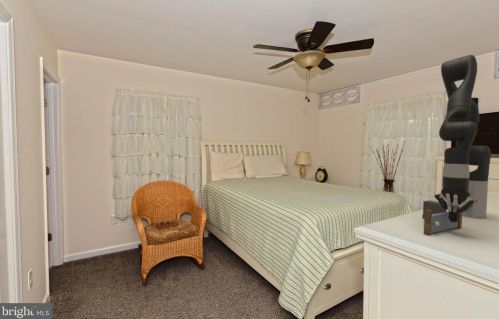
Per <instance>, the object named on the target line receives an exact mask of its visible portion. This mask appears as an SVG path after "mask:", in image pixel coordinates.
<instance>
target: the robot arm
mask: <svg viewBox="0 0 499 319" xmlns="http://www.w3.org/2000/svg"><path fill="white" fill-rule="evenodd" d="M440 73H441V78H442V81H443V85H444V88H445V92H446V95H447V99H448V101H447V104H446V114H445V118H444V119H443V122H442V124H441V126H440V127H439V132H438V135H439V137H440V138H439V139H441V140H442V141H444V142H456V143H455V144H456V146H453V147H447V148H445V150H444V154H443V155H444V156H443V157H444V160H443V166H442V181H441V182H442V183H441V184H442V185H441V186H442V189H441V191H440V192H439V193H438V194H434V198H435V200H436V202H439V203H440V205H441V206H442V208H443V209H446V210H447V212H449V216H448V219H449V220H450V222H454V223H456V222H458V221H459V217H460V212H462V217H466V218H471V219H484V220H485V219H486V218H487V209H488V208H487V207H488V190H489V189H488V188H489V186H488V185H489V174H490V165H491V159H492V157H491V156H492V151H491V149H490V147H489V146H487V145H473V143H474V141H475V138H476V136H477V133H478V125H479V123H480V121H481V118H480V112H479V111H480V110H479V106H478V104H477V103H476V102H475V101H474V100H473V99H472V96H473V91H474V88H475V84H476V79H477V74H478V61H477V58H476V56H475V55H473V54H469V55H463V56H461V57H457V58H453V59H450V60H447V61H444V62H443V63H442V64H441V66H440ZM460 81H461V84H459V85H458V86H457V84H456V82H460ZM470 166H476V167H477V168H476V169H474V170H471V171H470ZM461 206H463V207H461Z"/></svg>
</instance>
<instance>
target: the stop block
mask: <svg viewBox="0 0 499 319" xmlns="http://www.w3.org/2000/svg"><path fill="white" fill-rule="evenodd" d="M422 205H423V206H422V219H423V220H424V213H425V210H430V211H432V214H437V213H443V212H448V210H446V209H443V208H442V206H441V205H440V203H439V202H438V201H436V200H435V201H434V200H423V204H422Z"/></svg>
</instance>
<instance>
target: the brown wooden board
mask: <svg viewBox="0 0 499 319" xmlns="http://www.w3.org/2000/svg"><path fill="white" fill-rule="evenodd" d="M461 207H463V206H461ZM431 222H432V211H430V210H425V213H424V219H423V235H426V236H431V235H432V233H431ZM462 224H463V216H462V212H460V217H459V221H458V225H457V228H456V229H462V226H463V225H462Z"/></svg>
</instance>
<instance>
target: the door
mask: <svg viewBox="0 0 499 319" xmlns="http://www.w3.org/2000/svg"><path fill="white" fill-rule="evenodd" d="M448 216H449V211H447V212H443V213H437V214H432V222H431V234H434V233H439V232H442V231H447V230H451V229H455V228H456V229H458V228H457V225H458V222H456V223H454V222H450V220H449V219H448Z"/></svg>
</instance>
